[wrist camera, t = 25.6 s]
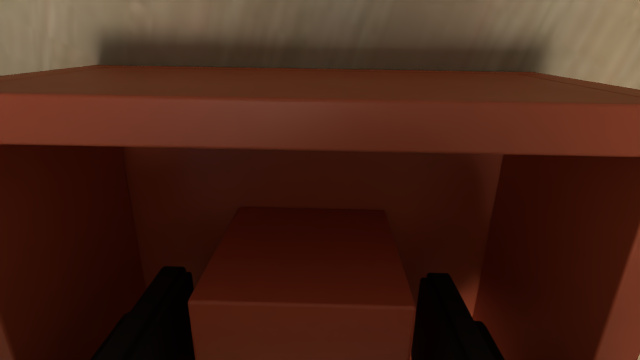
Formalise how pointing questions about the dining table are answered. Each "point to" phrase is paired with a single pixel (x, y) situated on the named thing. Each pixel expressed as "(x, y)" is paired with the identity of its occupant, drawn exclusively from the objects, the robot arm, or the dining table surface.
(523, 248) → the terracotta bin
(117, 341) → the robot arm
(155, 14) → the dining table surface
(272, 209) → the red block
